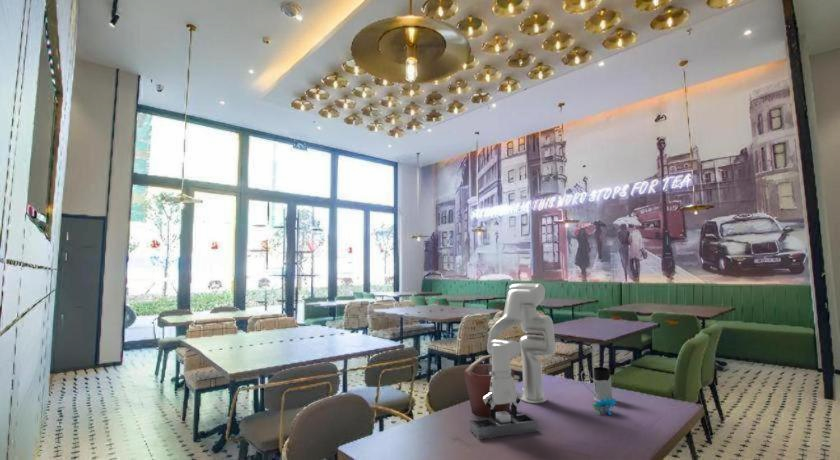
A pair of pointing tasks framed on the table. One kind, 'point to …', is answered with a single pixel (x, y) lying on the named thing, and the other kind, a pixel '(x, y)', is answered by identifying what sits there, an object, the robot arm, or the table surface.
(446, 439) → the table surface
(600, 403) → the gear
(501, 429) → the grey compartment tray
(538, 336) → the robot arm
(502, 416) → the white slotted box
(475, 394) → the bucket
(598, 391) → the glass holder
